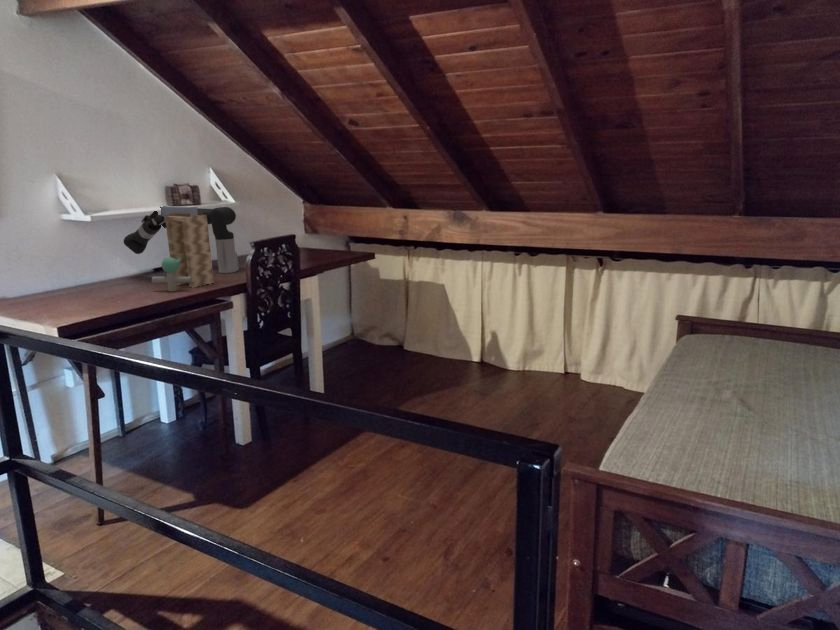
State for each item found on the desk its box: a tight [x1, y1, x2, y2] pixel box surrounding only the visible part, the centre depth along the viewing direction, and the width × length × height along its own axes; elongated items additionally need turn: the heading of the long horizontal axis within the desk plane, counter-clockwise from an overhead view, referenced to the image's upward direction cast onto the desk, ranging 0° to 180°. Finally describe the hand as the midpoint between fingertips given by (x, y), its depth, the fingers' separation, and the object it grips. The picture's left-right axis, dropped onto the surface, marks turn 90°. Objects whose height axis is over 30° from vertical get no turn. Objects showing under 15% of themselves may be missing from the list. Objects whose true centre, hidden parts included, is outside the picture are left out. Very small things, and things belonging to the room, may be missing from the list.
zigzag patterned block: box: [165, 213, 215, 289], centre depth 289 cm, size 12×14×33 cm
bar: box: [159, 205, 198, 217], centre depth 287 cm, size 4×22×4 cm, turn 57°
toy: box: [151, 256, 192, 292], centre depth 278 cm, size 18×7×15 cm, turn 84°
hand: (165, 211), depth 292 cm, fingers open, 8 cm apart
